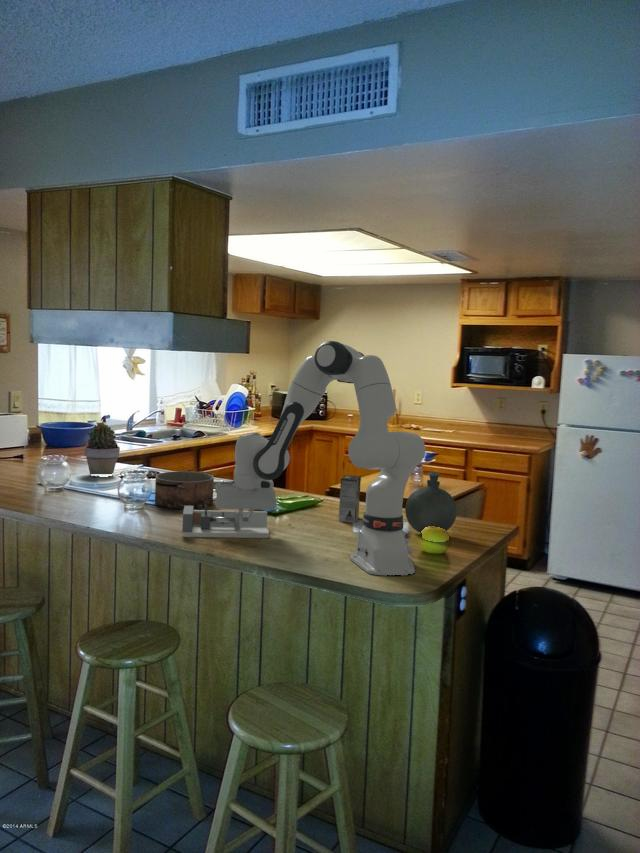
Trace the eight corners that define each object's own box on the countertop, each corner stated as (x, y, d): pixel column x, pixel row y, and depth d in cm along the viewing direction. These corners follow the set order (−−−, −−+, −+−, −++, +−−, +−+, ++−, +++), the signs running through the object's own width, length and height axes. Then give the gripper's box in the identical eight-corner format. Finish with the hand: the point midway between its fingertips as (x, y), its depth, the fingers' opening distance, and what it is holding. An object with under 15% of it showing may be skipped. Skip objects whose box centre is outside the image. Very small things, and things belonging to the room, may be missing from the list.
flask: (446, 542, 234) (451, 478, 231) (400, 533, 242) (404, 471, 240) (458, 535, 244) (462, 474, 241) (413, 527, 252) (417, 467, 250)
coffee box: (342, 515, 264) (344, 474, 262) (358, 517, 262) (361, 475, 261) (338, 521, 255) (340, 478, 253) (355, 523, 254) (357, 480, 252)
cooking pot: (186, 514, 253) (187, 485, 252) (136, 506, 261) (137, 478, 260) (228, 500, 281) (229, 474, 279) (181, 493, 289) (182, 468, 288)
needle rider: (209, 528, 227) (210, 507, 227) (200, 528, 227) (201, 507, 226) (210, 524, 232) (210, 504, 231) (200, 524, 232) (201, 503, 231)
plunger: (239, 529, 228) (239, 514, 228) (209, 529, 227) (210, 514, 226) (238, 524, 234) (238, 510, 234) (210, 524, 233) (210, 509, 232)
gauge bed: (268, 537, 227) (270, 515, 226) (182, 536, 223) (183, 514, 222) (266, 528, 239) (267, 507, 238) (183, 527, 234) (184, 505, 234)
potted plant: (113, 470, 330) (114, 418, 328) (127, 477, 315) (129, 423, 312) (75, 472, 320) (75, 419, 317) (87, 480, 304) (88, 424, 302)
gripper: (215, 482, 225) (213, 523, 227) (278, 483, 229) (276, 524, 230) (215, 478, 232) (214, 518, 233) (276, 480, 235) (274, 519, 236)
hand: (245, 521), depth 232 cm, fingers closed
